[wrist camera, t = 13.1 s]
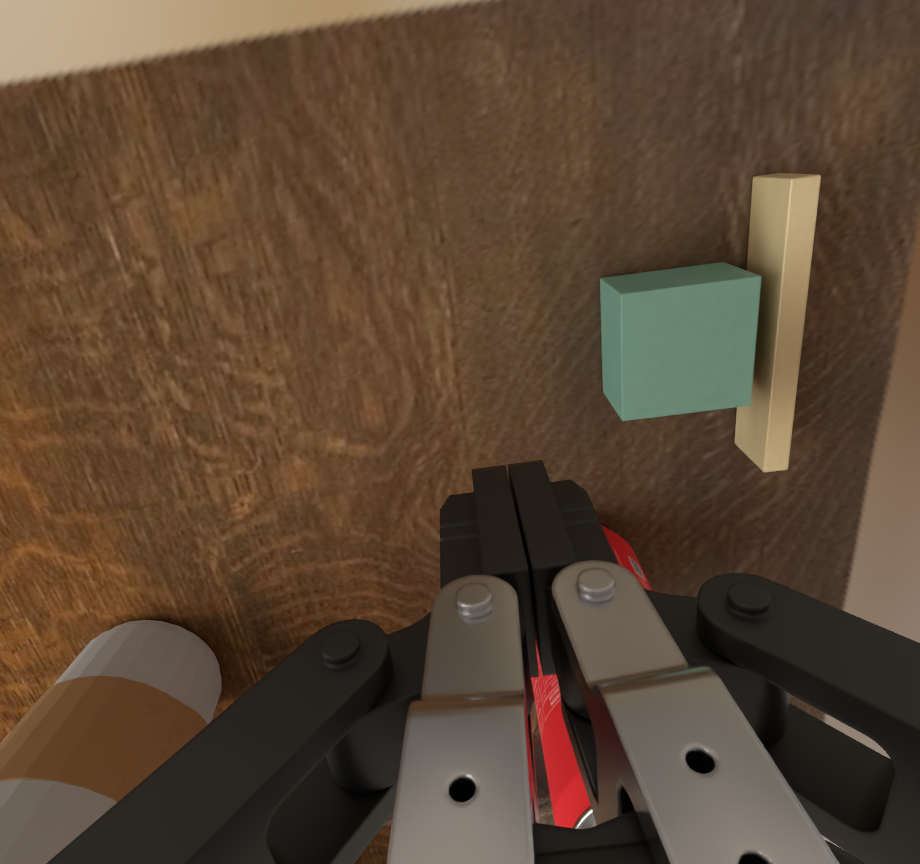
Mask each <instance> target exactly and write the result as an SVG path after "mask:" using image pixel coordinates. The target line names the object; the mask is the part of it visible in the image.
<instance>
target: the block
mask: <svg viewBox="0 0 920 864" xmlns="http://www.w3.org/2000/svg"><path fill="white" fill-rule="evenodd" d="M760 289H761V276H760V275H757V274H754V273H752V272H749V271H746V270H744V269H741V268H738V267H736V266H733V265H730V264H728V263H725V262H719V263H712V264H704V265H696V266H689V267H681V268H673V269H666V270H658V271H650V272H643V273H635V274H627V275H620V276H612V277H604V278H600V300H601V337H602V374H603V393H604V394H605V396H606V397H607V399H608V400H609V402H610V403H611V405H612V406H613V408H614V409H615V411H616V412H617V414H618V415H619V417H620V418H621V420H622V421H628V420H636V419H644V418H653V417H661V416H669V415H677V414H685V413H693V412H701V411H709V410H718V409H726V408H734V407H742V406H750V405H751V395H752V384H753V372H754V360H755V348H756V336H757V324H758V312H759V300H760Z"/></svg>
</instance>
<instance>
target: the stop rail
mask: <svg viewBox="0 0 920 864" xmlns="http://www.w3.org/2000/svg"><path fill="white" fill-rule="evenodd" d="M820 180H821V176H820V175H813V174H790V173H775V174H767V175H760V176H755V177H753V184H752V199H751V213H750V227H749V242H748V256H747V270H746V271H749V272H752V273H754V274H757V275H760V276H761V289H760V300H759V312H758V324H757V336H756V348H755V360H754V372H753V384H752V395H751V405H750V406H742V407H737V414H736V428H735V444H736V445H737V446H738V447H739V448H740V449H741V450H742V451H743V452H744V453H745V454H746V455H747V456H748V457H749V458H750V459H751V460H752V461H753V462H754V463H755V464H756V465H757V466H758V467H759V468H760V469H761V470H762V471H763V472H772V471H781V470H787V469H788V463H789V454H790V445H791V436H792V428H793V419H794V410H795V401H796V392H797V383H798V375H799V366H800V357H801V348H802V339H803V330H804V322H805V313H806V304H807V295H808V286H809V277H810V269H811V260H812V251H813V242H814V233H815V225H816V216H817V207H818V198H819V189H820Z"/></svg>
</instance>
